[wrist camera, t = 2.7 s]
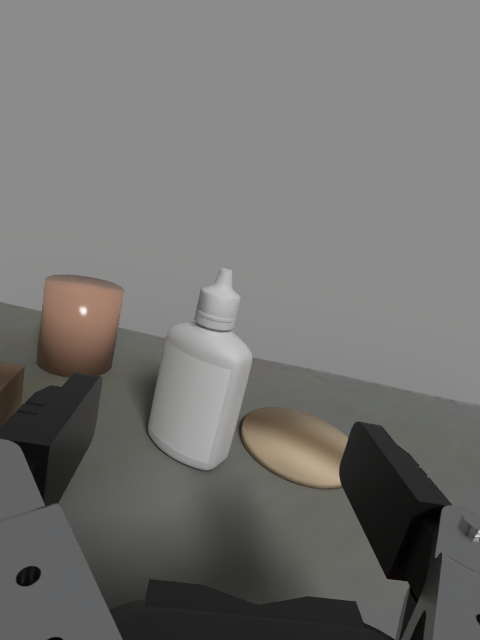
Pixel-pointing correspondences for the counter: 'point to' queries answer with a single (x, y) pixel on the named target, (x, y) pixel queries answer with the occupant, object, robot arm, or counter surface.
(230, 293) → the eye dropper bottle
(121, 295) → the domed peg
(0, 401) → the walnut block
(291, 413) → the cork coaster
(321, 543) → the counter surface
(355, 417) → the counter surface
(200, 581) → the counter surface
